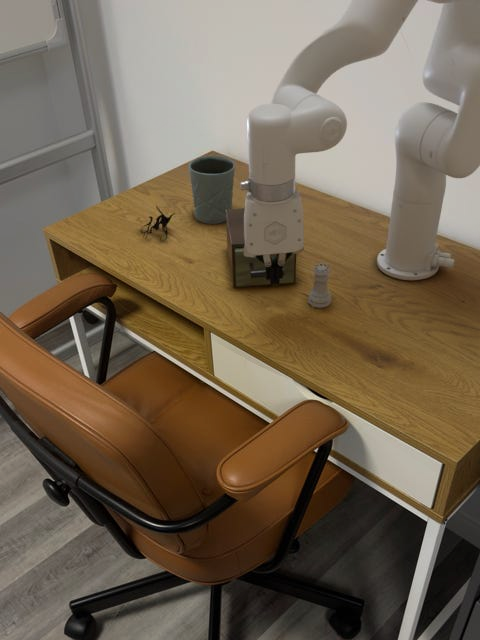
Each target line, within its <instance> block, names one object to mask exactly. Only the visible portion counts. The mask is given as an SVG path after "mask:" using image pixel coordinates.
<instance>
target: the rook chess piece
mask: <svg viewBox="0 0 480 640" xmlns="http://www.w3.org/2000/svg"><path fill="white" fill-rule="evenodd" d="M312 273H313V274H314V276H313V281H314V282H313V287H312V289H311V291H310V292H309V294H308V300H307V301H308V303H309V304H310V306H311V307H313V308H316V309H324V308H327V307H328V306H330V305H331V303H332V294H331V292H330V290H329V288H328V287H329V286H328V280H329V279H330V278H329V275H330V273H331V269H330V268H329V265H328V263H323V262H319V263H315V265H314V268H312Z"/></svg>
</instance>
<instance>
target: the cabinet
mask: <svg viewBox="0 0 480 640" xmlns="http://www.w3.org/2000/svg"><path fill="white" fill-rule="evenodd" d="M244 209H245V207H242V208H241V207H240V208H232V209H226V221H225V226H226V227H225V228H226V230H225V231H226V248H227V249H226V251H227V257H228V264H229V269H230V277H231V282H232V288H245V287H248V286H238V287H237V286H236V267H235V248H238V247H244V245H245V239H244ZM296 272H297V253H296V254H294V282H293V283H292V284H296V279H297V278H296V275H297V273H296ZM284 284H285V285H286V284H287V285H288V284H289V283H280V285H284ZM258 286H259V287H261V285H252V286H251V287H258ZM264 286H271V285H270V284H265V285H264Z"/></svg>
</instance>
